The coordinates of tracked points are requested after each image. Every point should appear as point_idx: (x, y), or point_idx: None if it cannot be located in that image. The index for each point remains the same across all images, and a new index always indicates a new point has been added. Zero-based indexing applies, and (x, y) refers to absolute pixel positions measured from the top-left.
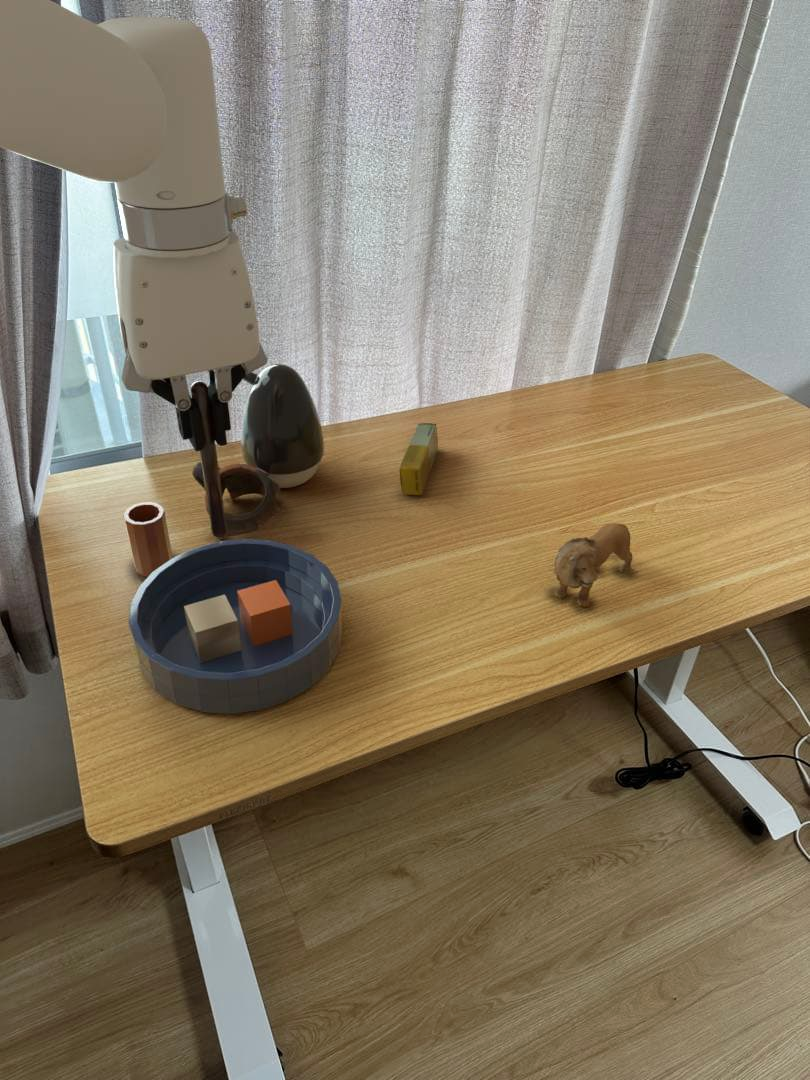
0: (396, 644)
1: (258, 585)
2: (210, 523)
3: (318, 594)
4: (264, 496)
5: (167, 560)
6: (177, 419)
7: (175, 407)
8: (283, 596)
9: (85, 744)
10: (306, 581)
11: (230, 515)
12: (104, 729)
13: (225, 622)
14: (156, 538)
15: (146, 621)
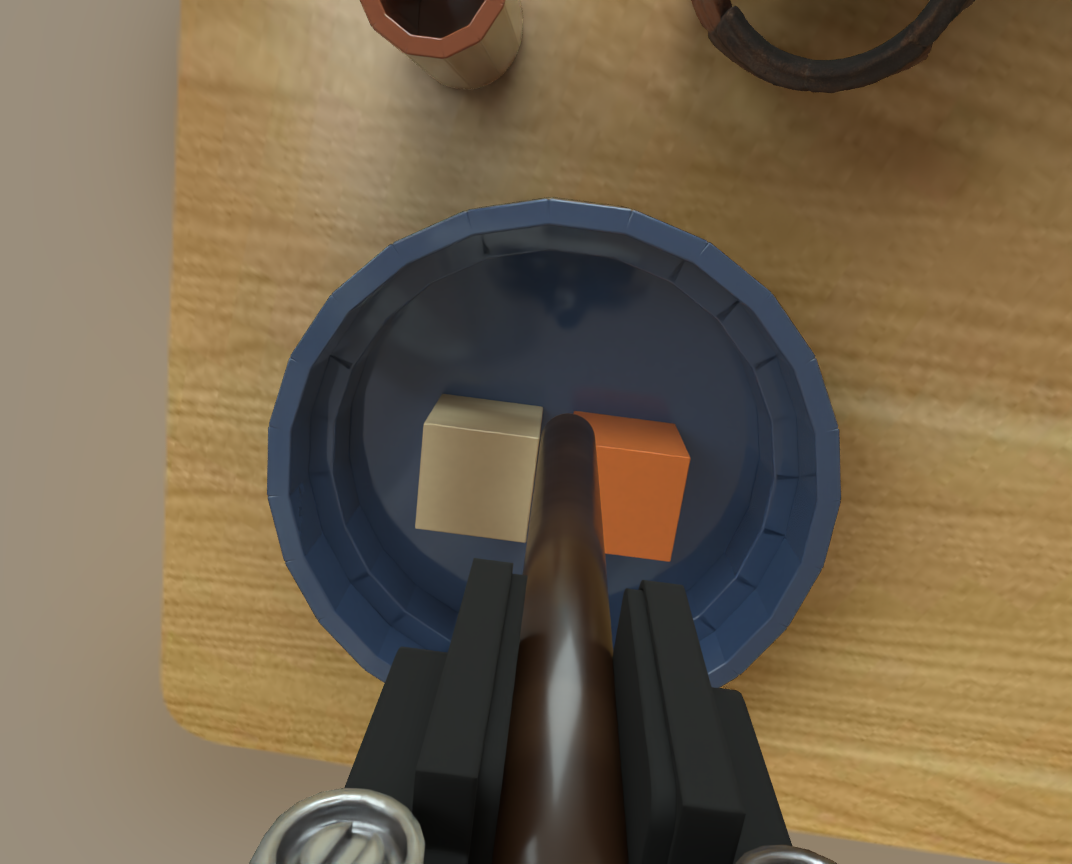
0: (841, 641)
1: (636, 453)
2: (540, 444)
3: (772, 502)
4: (903, 41)
5: (492, 75)
6: (378, 703)
7: (347, 783)
8: (670, 528)
9: (168, 543)
10: (777, 439)
11: (745, 43)
12: (208, 529)
13: (495, 535)
14: (454, 70)
15: (339, 360)
